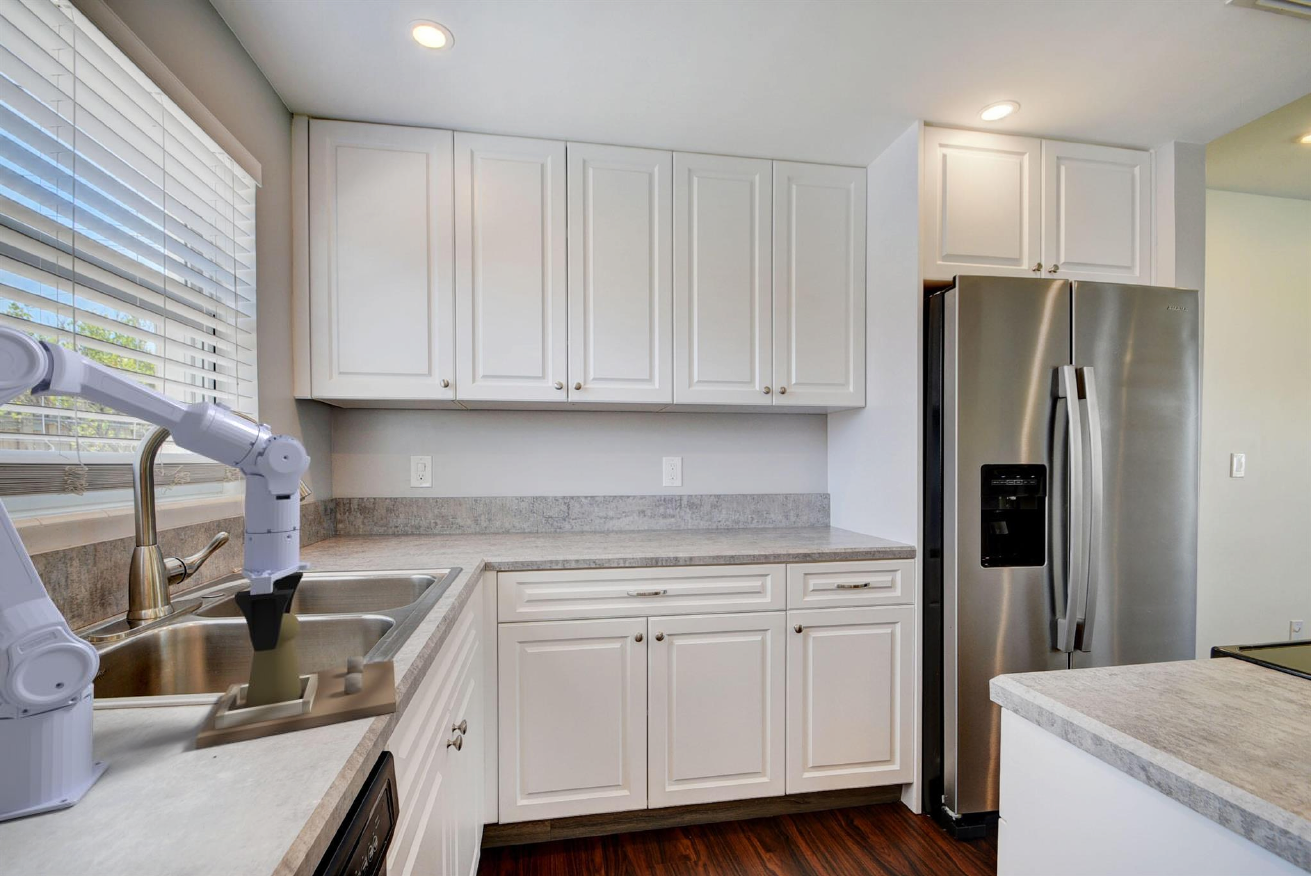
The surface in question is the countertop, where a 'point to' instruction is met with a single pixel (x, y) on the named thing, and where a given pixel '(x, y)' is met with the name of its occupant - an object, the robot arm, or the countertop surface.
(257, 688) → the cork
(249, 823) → the countertop surface
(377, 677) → the board
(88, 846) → the countertop surface
